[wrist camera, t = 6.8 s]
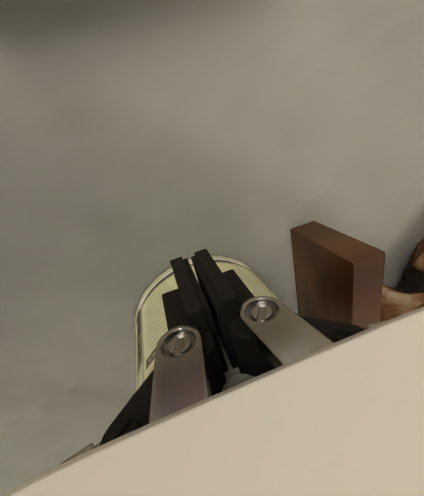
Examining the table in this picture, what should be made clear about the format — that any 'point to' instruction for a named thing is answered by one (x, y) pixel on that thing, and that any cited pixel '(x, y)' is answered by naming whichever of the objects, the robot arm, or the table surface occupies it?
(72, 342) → the table surface
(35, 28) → the table surface
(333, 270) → the corner rails
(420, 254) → the ivory skull
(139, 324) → the coffee can
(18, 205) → the table surface
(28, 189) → the table surface
